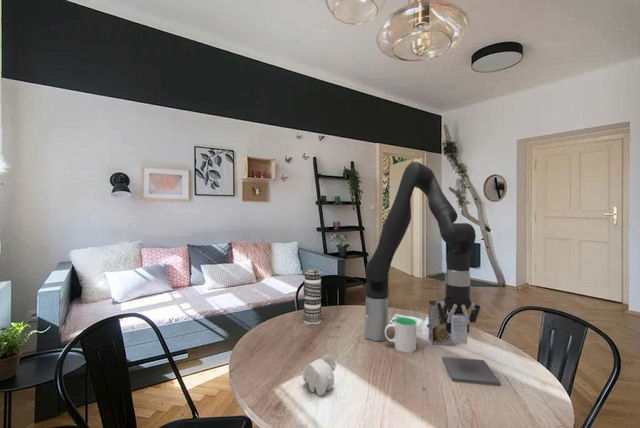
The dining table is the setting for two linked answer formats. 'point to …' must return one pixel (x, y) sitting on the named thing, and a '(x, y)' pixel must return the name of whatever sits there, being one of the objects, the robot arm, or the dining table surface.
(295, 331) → the dining table surface
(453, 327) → the medicine box
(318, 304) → the decorative candle
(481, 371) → the rubber mat
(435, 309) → the coffee box
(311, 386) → the elephant figurine
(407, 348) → the mug
